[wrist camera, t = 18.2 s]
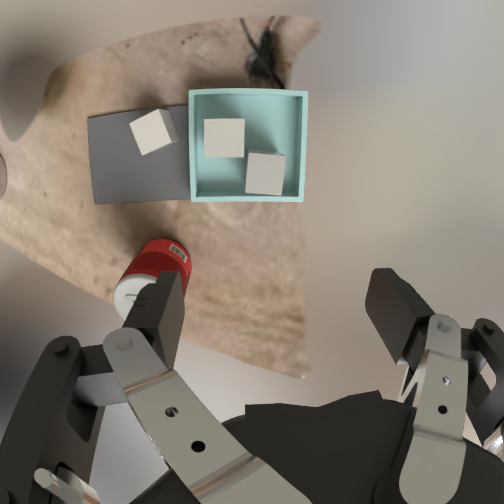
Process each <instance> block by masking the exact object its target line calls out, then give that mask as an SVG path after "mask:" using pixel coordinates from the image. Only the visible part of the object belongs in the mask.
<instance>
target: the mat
mask: <svg viewBox="0 0 504 504" xmlns="http://www.w3.org/2000/svg"><path fill="white" fill-rule="evenodd" d="M157 109H162V110H168V111H169V112H170V114H171V117H172V119H173V122H174V124H175V127H176V129H177V132H178V134H179V137H180V140H178V141H176V142H173V143H171V144H169V145H167V146H164V147H162V148H160V149H158V150H156V151H153V152H150V153H148V154H145V155H142V154H141V152H140V149H139V147H138V144H137V142H136V139H135V137H134V134H133V132H132V129H131V127H130V124H129V123H131V122H133V121H135V120H137V119H139V118H141V117H143V116H145V115H147V114H149V113H151V112H153V111H155V110H157ZM88 139H89V154H90V166H91V176H92V185H93V193H94V201H95V204H109V203H123V202H140V201H161V200H188V199H191V187H190V160H189V105H186V106H173V107H162V108H153V109H144V110H137V111H130V112H123V113H117V114H111V115H105V116H100V117H95V118H90V119H88Z"/></svg>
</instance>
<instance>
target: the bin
mask: <svg viewBox="0 0 504 504" xmlns="http://www.w3.org/2000/svg"><path fill="white" fill-rule="evenodd" d="M307 115H308V92H307V91H296V90H282V89H258V88H220V89H197V90H189V160H190V187H191V202H223V201H281V202H303V197H304V182H305V181H304V180H305V163H306V142H307ZM204 119H245V130H244V157H214V158H204ZM247 148H252V149H263V150H274V151H279V152H280V153H282V154H283V155H285V156H286V162H285V170H284V179H283V187H282V195H281V196H280V195H268V194H256V193H245V187H244V175H245V164H246V152H247Z"/></svg>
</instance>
